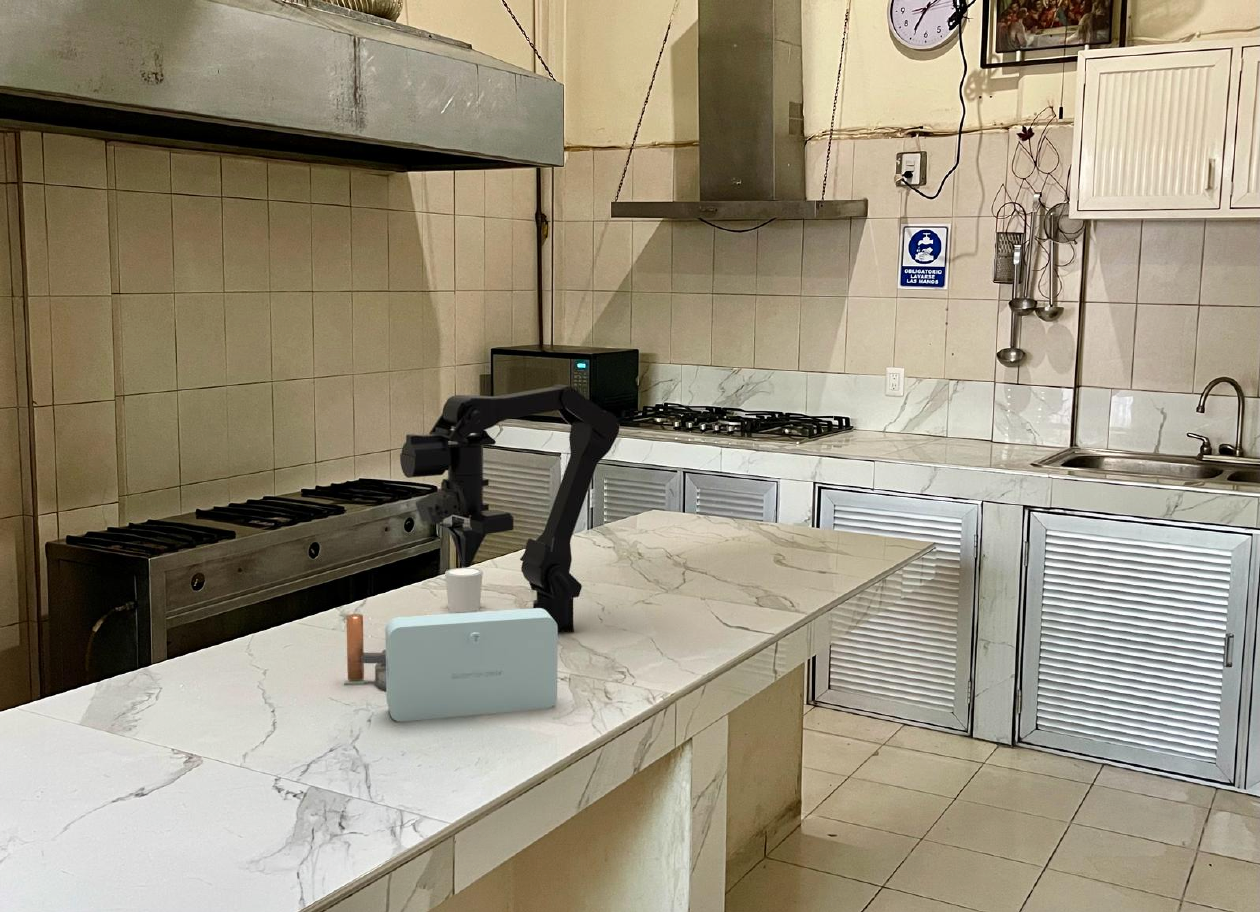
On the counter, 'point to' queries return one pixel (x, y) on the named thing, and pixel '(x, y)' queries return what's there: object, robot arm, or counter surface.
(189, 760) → the counter surface
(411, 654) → the pale blue box
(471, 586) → the white cup
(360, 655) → the copper rod with bracket
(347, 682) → the pale green bar
